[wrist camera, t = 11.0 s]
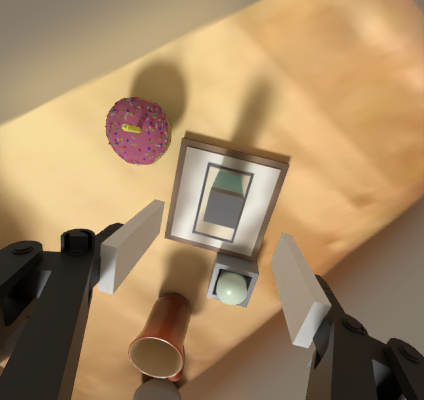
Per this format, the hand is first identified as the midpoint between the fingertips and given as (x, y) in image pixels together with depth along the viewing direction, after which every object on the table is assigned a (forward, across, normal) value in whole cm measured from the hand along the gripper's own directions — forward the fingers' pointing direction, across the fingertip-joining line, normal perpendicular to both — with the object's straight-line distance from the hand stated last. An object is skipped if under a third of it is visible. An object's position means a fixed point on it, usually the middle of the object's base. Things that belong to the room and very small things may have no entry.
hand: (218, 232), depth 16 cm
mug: (+18, -3, -29) cm, 34 cm away
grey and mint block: (+16, 0, 0) cm, 16 cm away
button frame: (+17, +5, -16) cm, 24 cm away
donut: (+18, -13, +4) cm, 22 cm away
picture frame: (+17, 0, -4) cm, 18 cm away
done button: (+16, +5, -16) cm, 23 cm away
